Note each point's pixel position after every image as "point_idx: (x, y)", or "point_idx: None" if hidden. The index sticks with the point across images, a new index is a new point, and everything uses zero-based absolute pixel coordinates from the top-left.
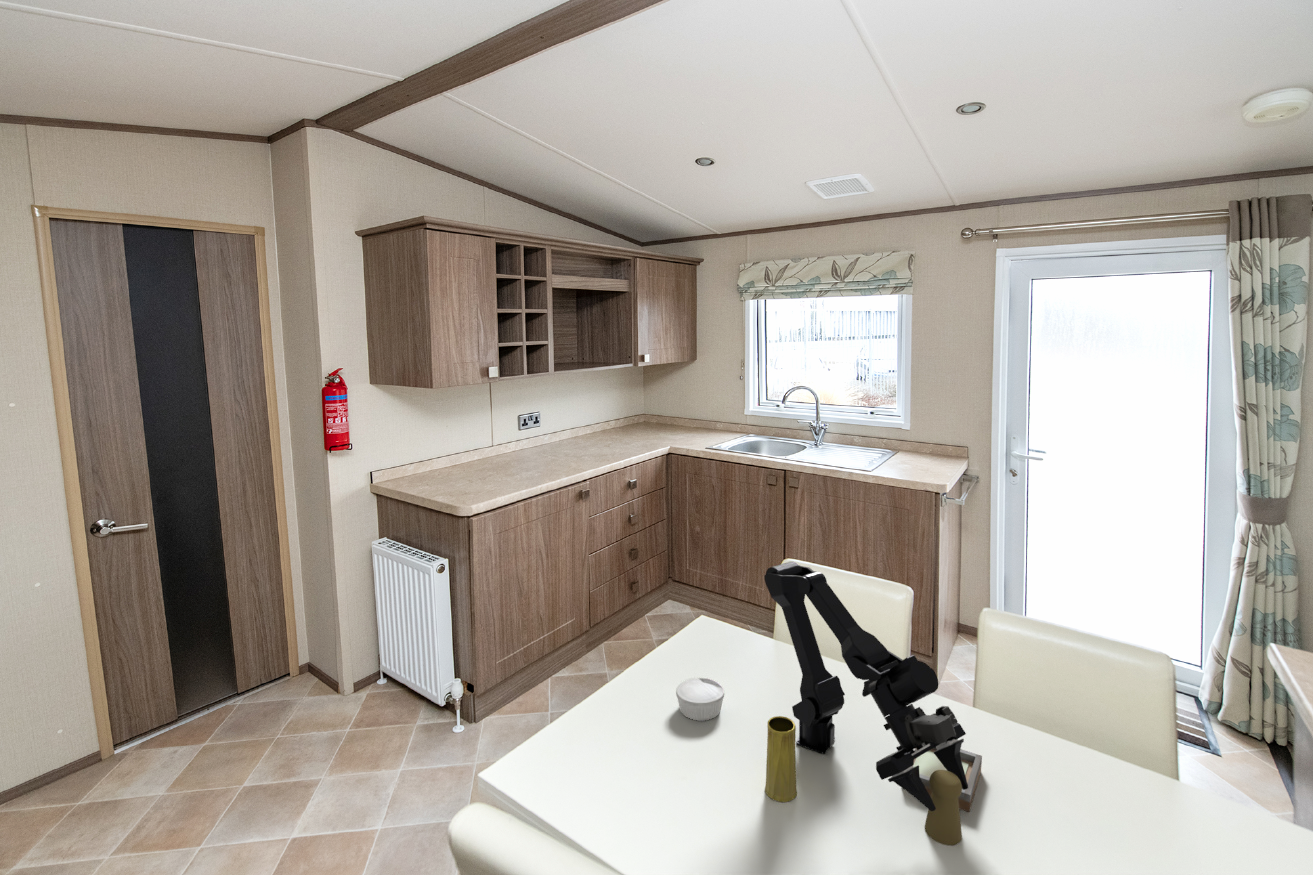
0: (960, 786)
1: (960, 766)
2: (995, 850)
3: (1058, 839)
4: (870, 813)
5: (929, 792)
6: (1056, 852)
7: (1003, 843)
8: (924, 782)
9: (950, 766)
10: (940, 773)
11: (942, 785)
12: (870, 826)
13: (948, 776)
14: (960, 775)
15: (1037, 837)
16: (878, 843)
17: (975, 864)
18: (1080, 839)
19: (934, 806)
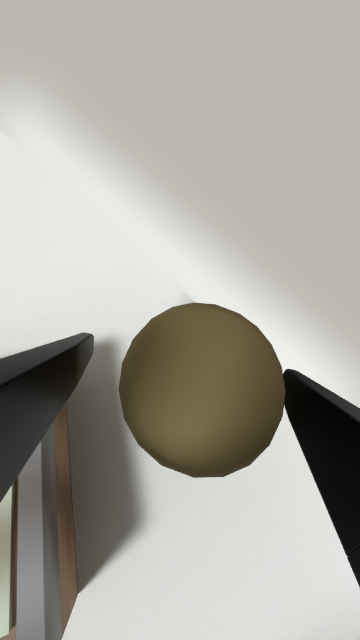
0: (193, 303)
1: (14, 365)
2: (146, 296)
3: (39, 231)
4: (257, 580)
5: (64, 491)
6: (78, 229)
7: (117, 292)
8: (50, 531)
9: (21, 434)
10: (224, 412)
11: (278, 361)
12: (294, 538)
13: (210, 358)
14: (64, 360)
15: (58, 255)
16: None
17: None
18: (16, 208)
19: (297, 372)
